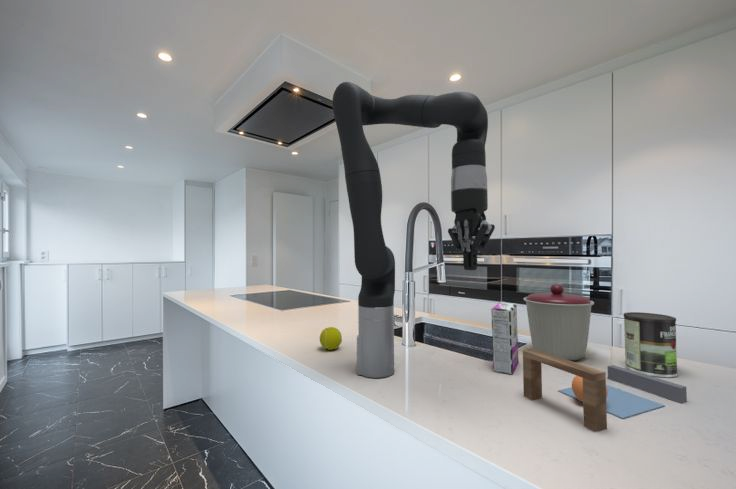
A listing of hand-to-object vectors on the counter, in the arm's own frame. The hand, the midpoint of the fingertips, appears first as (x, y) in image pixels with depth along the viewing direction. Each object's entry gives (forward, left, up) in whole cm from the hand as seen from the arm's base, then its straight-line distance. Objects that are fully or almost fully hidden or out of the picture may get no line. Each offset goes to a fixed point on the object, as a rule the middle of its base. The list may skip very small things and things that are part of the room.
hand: (470, 269), depth 70 cm
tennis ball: (-39, +30, -27) cm, 56 cm away
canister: (+30, +32, -27) cm, 52 cm away
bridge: (+16, -4, -27) cm, 32 cm away
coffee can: (+48, +22, -27) cm, 59 cm away
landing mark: (+28, +3, -27) cm, 39 cm away
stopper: (+38, +9, -27) cm, 48 cm away
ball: (+23, 0, -24) cm, 33 cm away
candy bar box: (+12, +20, -27) cm, 36 cm away
